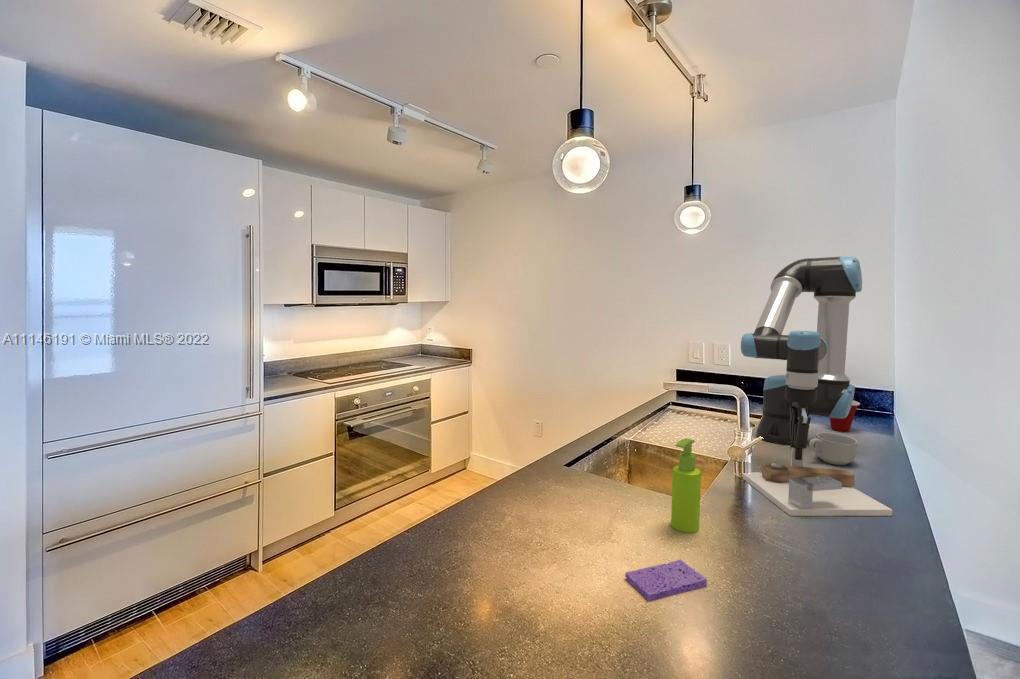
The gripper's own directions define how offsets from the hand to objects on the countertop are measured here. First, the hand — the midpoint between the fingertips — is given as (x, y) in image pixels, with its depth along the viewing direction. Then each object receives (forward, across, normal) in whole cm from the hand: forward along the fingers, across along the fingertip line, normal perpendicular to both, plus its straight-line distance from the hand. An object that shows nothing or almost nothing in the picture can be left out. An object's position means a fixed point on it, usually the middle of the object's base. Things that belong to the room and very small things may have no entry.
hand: (796, 469), depth 131 cm
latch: (+1, +4, +1) cm, 5 cm away
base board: (+3, +10, +1) cm, 11 cm away
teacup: (+3, -21, +14) cm, 25 cm away
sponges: (+4, +62, -34) cm, 71 cm away
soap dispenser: (+4, +39, -30) cm, 50 cm away
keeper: (+3, +20, 0) cm, 20 cm away
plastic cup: (+3, -63, +28) cm, 69 cm away
